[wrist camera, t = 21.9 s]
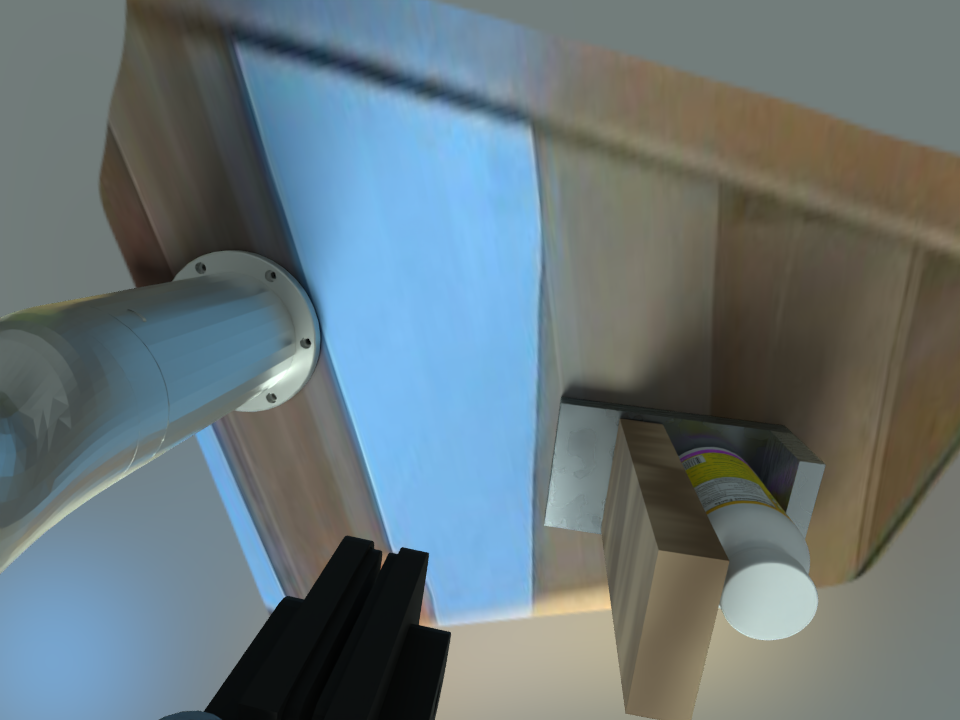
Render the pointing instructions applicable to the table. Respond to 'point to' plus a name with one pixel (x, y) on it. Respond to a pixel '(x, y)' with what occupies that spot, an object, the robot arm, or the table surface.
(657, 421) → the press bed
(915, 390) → the table surface
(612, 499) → the brown wooden block
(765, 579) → the supplement bottle
